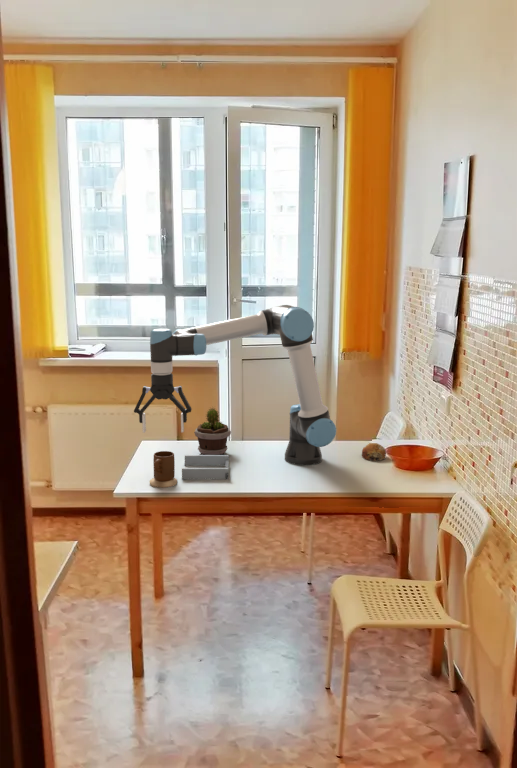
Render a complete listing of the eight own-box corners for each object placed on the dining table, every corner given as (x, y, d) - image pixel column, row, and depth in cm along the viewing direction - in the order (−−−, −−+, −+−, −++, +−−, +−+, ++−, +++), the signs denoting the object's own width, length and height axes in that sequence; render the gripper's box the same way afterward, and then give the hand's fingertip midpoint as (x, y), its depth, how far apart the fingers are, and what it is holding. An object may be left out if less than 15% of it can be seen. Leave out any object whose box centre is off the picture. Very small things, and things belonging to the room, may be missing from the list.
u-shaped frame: (228, 464, 262) (228, 455, 261) (228, 479, 246) (228, 468, 245) (184, 464, 261) (184, 454, 261) (181, 479, 245) (181, 468, 244)
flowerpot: (230, 459, 269) (230, 411, 265) (192, 458, 269) (192, 410, 265) (231, 448, 283) (232, 403, 279) (196, 448, 283) (196, 402, 279)
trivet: (178, 478, 246) (178, 476, 245) (176, 487, 236) (176, 485, 236) (151, 478, 245) (151, 476, 245) (147, 487, 235) (147, 485, 235)
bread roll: (387, 466, 275) (391, 447, 276) (379, 461, 266) (383, 442, 268) (365, 461, 280) (369, 443, 282) (356, 457, 272) (360, 438, 273)
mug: (165, 487, 234) (165, 461, 232) (145, 484, 236) (145, 459, 234) (177, 476, 246) (177, 451, 244) (158, 474, 247) (158, 450, 246)
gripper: (198, 370, 237) (198, 428, 241) (127, 371, 236) (129, 428, 240) (197, 374, 229) (197, 433, 234) (124, 375, 228) (126, 434, 233)
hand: (163, 431), depth 237 cm, fingers open, 13 cm apart
